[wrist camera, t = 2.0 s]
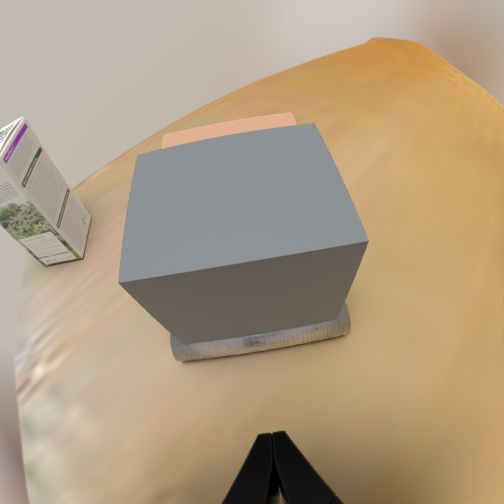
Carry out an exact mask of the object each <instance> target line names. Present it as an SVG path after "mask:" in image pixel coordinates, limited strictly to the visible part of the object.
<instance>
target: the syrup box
mask: <svg viewBox="0 0 504 504" xmlns="http://www.w3.org/2000/svg"><path fill="white" fill-rule="evenodd" d="M90 222H91V215H90V214H89V213H88V211H87V210H86V209H85V207H84V206H83V205H82V204H81V202H80V201H79V200H78V198H77V197H76V196H75V194H74V193H73V191H72V190H71V189H70V187H69V186H68V184H67V183H66V182H65V180H64V179H63V177H62V176H61V174H60V173H59V171H58V170H57V168H56V167H55V165H54V164H53V162H52V161H51V159H50V158H49V156H48V155H47V153H46V151H45V150H44V148H43V146H42V145H41V143H40V142H39V140H38V138H37V137H36V135H35V133H34V132H33V130H32V129H31V127H30V125H29V124H28V122H27V121H26V119H25V118H24V117H21V118H19V119H18V120H16V121H14V122H12V123H11V124H9V125H7V126H5V127H4V128H2V129H0V224H1V225H2V226H3V228H4V229H5V230H6V231H7V232H9V234H10V235H11V236H13V238H14V239H16V240H17V241H18V242H19V243H20V244H21V245H22V246H23V247H24V248H25V249H26V250H27V251H28V252H29V253H30V254H31V255H33V256H34V257H35V258H36V259H37V260H38V261H39V262H40V263H41V264H42V265H44V266H49V265H53V264H58V263H63V262H67V261H73V260H78V259H82V258H83V255H84V250H85V246H86V241H87V236H88V231H89V226H90Z"/></svg>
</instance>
